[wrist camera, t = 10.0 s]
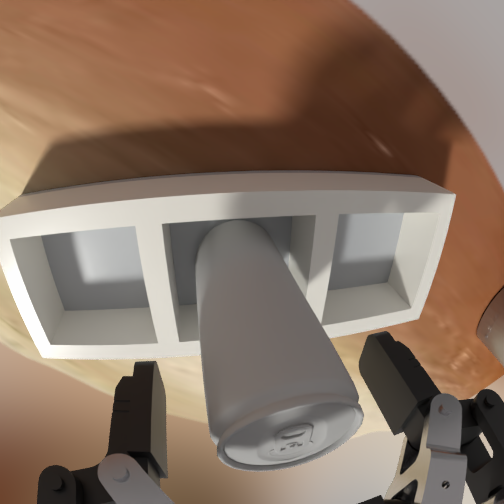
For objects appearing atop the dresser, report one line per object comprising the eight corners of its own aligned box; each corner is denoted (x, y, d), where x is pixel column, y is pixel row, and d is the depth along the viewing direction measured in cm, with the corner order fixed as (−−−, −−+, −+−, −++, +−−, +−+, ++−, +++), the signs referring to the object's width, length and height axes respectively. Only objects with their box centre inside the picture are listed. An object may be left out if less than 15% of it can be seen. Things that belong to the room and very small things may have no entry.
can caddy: (417, 175, 19) (455, 194, 15) (391, 288, 23) (418, 318, 20) (21, 194, 14) (-13, 219, 11) (58, 319, 19) (42, 357, 15)
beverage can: (200, 293, 19) (223, 480, 9) (188, 221, 17) (197, 420, 6) (275, 282, 20) (351, 451, 9) (274, 211, 17) (386, 377, 7)
